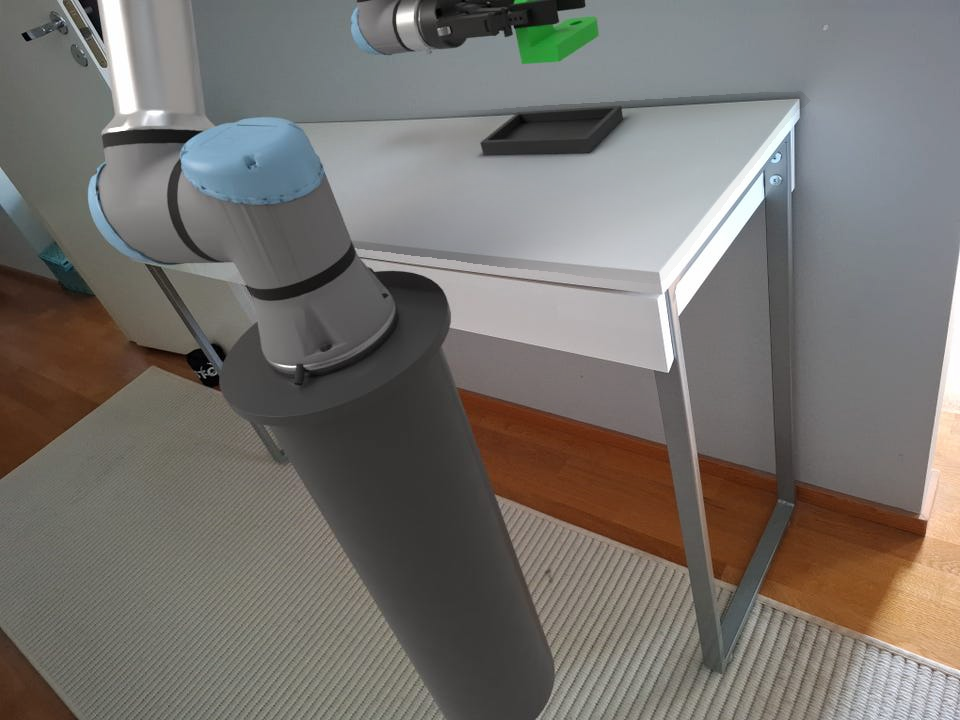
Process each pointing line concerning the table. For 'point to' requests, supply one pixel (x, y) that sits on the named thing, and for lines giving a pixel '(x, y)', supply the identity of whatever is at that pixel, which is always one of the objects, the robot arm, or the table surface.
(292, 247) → the robot arm
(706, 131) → the table surface
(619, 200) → the table surface
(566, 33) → the mechanical part
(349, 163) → the table surface
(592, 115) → the parts tray
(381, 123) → the table surface
